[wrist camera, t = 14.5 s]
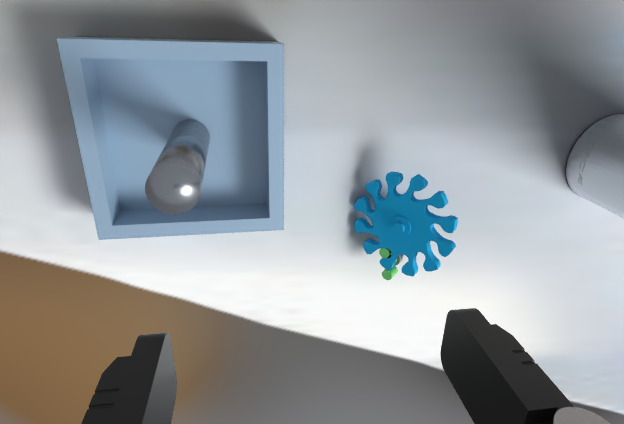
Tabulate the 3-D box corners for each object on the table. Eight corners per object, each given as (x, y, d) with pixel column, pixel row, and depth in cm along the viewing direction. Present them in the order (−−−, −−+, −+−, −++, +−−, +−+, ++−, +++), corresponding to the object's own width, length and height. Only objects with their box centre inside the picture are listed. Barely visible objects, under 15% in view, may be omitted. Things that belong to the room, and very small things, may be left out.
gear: (366, 156, 37) (472, 206, 33) (394, 144, 41) (491, 187, 37) (336, 253, 42) (423, 307, 38) (364, 234, 47) (445, 279, 43)
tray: (278, 41, 33) (283, 44, 30) (278, 211, 39) (283, 229, 36) (77, 36, 31) (56, 38, 27) (111, 218, 37) (98, 239, 33)
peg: (208, 119, 34) (197, 164, 23) (211, 154, 35) (202, 213, 24) (170, 119, 33) (141, 165, 23) (174, 155, 35) (148, 215, 24)
